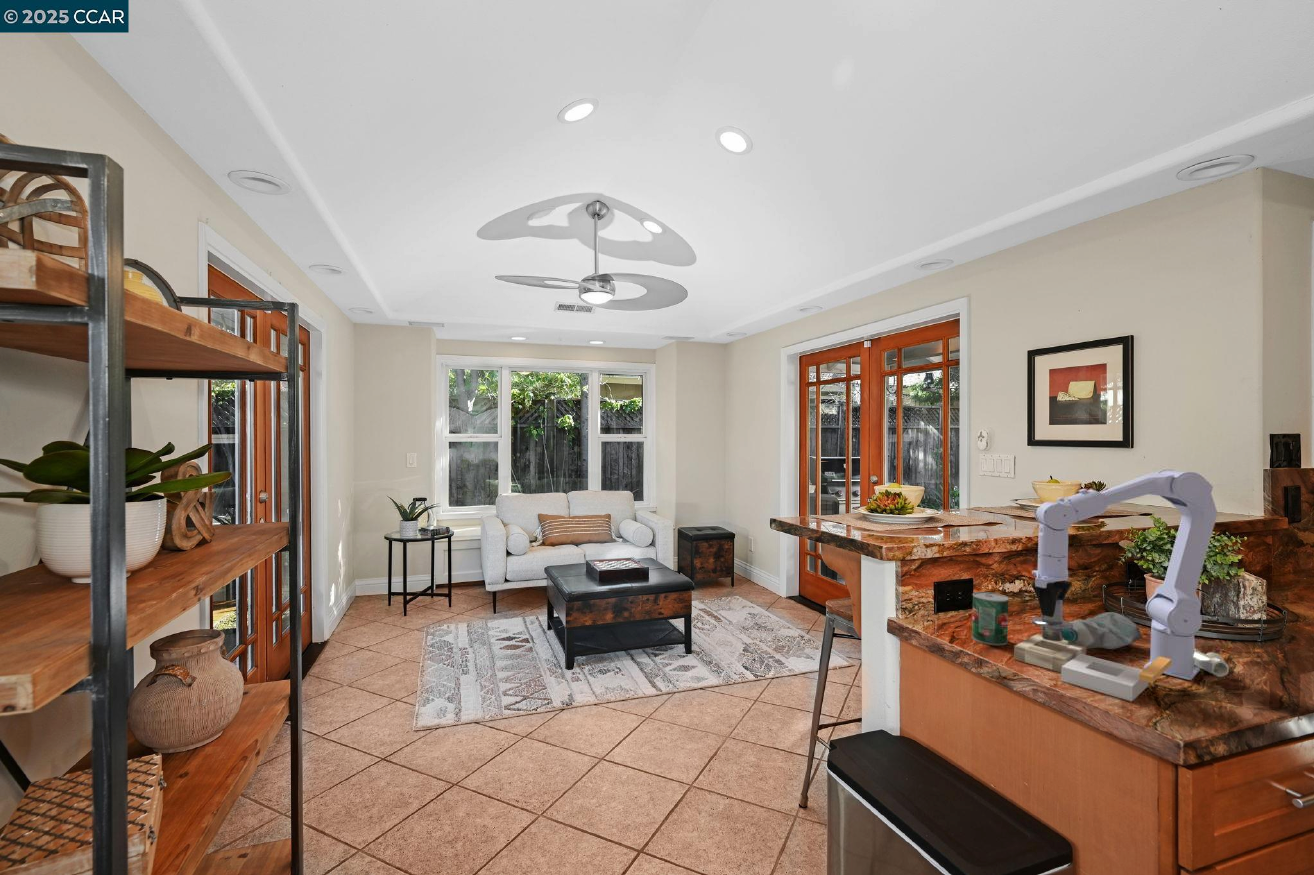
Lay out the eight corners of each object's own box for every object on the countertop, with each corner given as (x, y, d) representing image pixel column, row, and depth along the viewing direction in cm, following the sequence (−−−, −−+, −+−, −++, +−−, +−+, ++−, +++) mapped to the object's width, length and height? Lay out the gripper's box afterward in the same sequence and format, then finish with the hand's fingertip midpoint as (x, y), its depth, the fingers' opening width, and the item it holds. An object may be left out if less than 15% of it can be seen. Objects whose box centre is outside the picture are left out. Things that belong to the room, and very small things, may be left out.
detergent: (1093, 631, 158) (1033, 638, 147) (1097, 605, 158) (1038, 609, 147) (1151, 653, 146) (1091, 661, 136) (1156, 624, 146) (1097, 630, 135)
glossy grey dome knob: (1040, 631, 144) (1040, 593, 144) (1079, 639, 138) (1079, 600, 138) (1025, 636, 140) (1025, 597, 140) (1064, 646, 133) (1064, 605, 133)
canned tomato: (1012, 646, 147) (1013, 601, 146) (977, 643, 148) (978, 599, 148) (1001, 635, 154) (1002, 592, 154) (967, 633, 156) (968, 590, 156)
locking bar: (1158, 661, 128) (1159, 656, 128) (1171, 664, 126) (1171, 659, 126) (1139, 679, 118) (1139, 673, 118) (1152, 683, 117) (1152, 677, 117)
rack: (1037, 645, 148) (1037, 633, 147) (1085, 658, 140) (1085, 645, 140) (1013, 659, 139) (1014, 646, 139) (1064, 673, 131) (1064, 659, 131)
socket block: (1080, 667, 135) (1080, 653, 134) (1148, 685, 125) (1148, 671, 125) (1061, 680, 127) (1061, 666, 127) (1131, 701, 118) (1132, 686, 118)
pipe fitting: (1212, 666, 138) (1181, 662, 138) (1213, 649, 138) (1183, 645, 138) (1243, 680, 130) (1211, 677, 130) (1246, 662, 130) (1213, 659, 130)
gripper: (1044, 548, 146) (1043, 604, 147) (1021, 555, 137) (1019, 615, 138) (1079, 553, 141) (1077, 611, 141) (1056, 561, 132) (1054, 623, 132)
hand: (1051, 613), depth 139 cm, fingers closed on glossy grey dome knob, 4 cm apart
